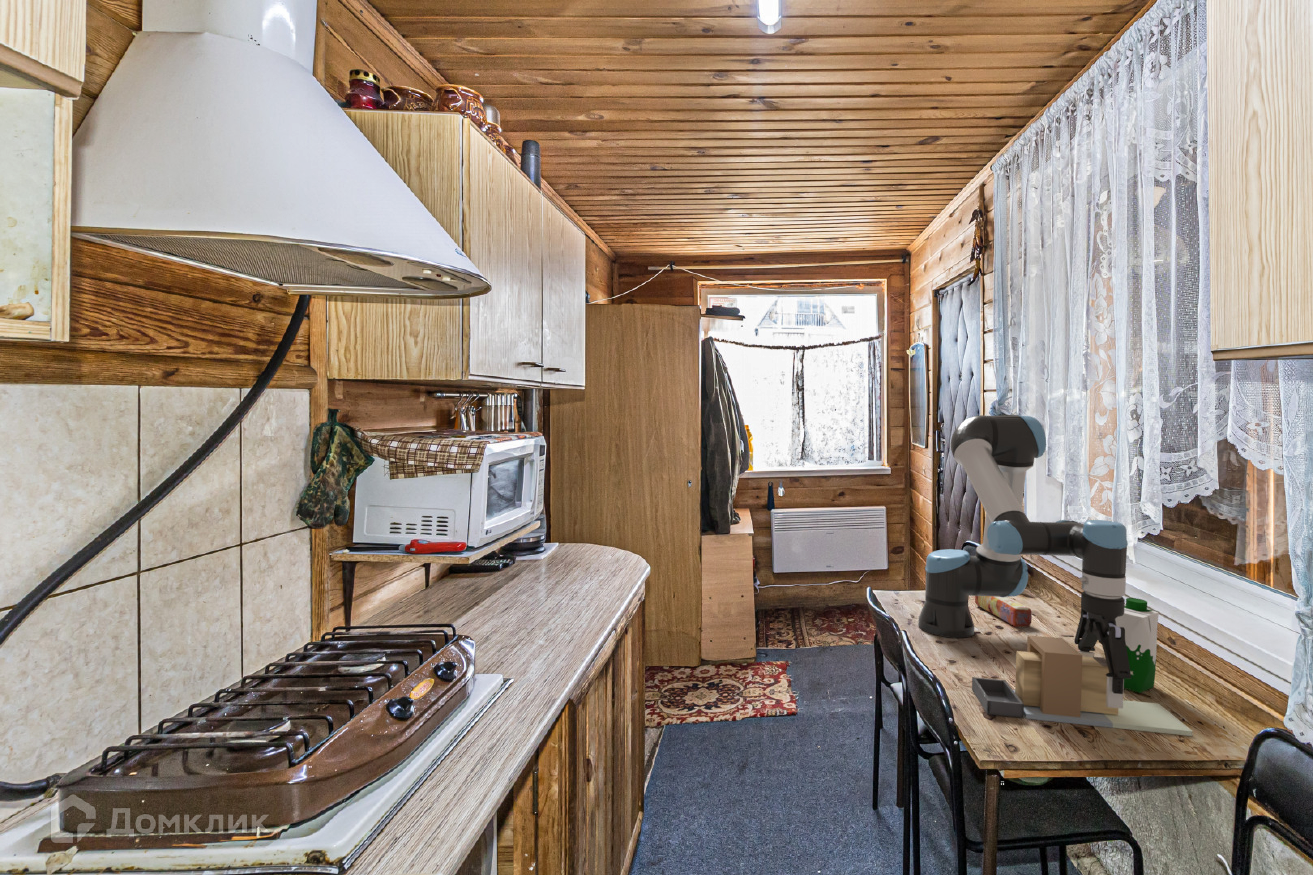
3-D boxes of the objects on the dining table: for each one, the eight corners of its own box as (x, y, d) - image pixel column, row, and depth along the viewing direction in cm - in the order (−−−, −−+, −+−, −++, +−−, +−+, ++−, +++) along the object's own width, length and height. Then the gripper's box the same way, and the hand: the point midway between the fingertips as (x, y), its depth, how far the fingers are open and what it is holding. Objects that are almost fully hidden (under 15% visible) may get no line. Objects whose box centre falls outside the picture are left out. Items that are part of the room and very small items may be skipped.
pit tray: (971, 689, 142) (972, 677, 142) (1004, 692, 141) (1005, 680, 141) (987, 714, 131) (987, 700, 131) (1023, 718, 129) (1024, 704, 129)
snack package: (1033, 628, 184) (1034, 606, 184) (1012, 628, 184) (1013, 606, 184) (992, 605, 205) (993, 586, 205) (973, 606, 205) (973, 586, 205)
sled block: (1015, 694, 137) (1016, 649, 137) (1106, 703, 133) (1108, 657, 133) (1023, 704, 132) (1024, 658, 132) (1118, 714, 128) (1119, 666, 128)
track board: (1007, 693, 141) (1009, 632, 140) (1158, 707, 134) (1160, 644, 133) (1026, 718, 129) (1028, 652, 128) (1192, 736, 122) (1195, 666, 122)
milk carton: (1160, 687, 144) (1163, 603, 143) (1141, 696, 140) (1145, 609, 139) (1117, 673, 152) (1120, 594, 151) (1098, 681, 147) (1101, 599, 146)
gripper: (1059, 577, 143) (1056, 668, 144) (1110, 610, 119) (1107, 718, 120) (1095, 580, 141) (1092, 671, 142) (1155, 613, 118) (1151, 723, 118)
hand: (1099, 693), depth 131 cm, fingers open, 12 cm apart
